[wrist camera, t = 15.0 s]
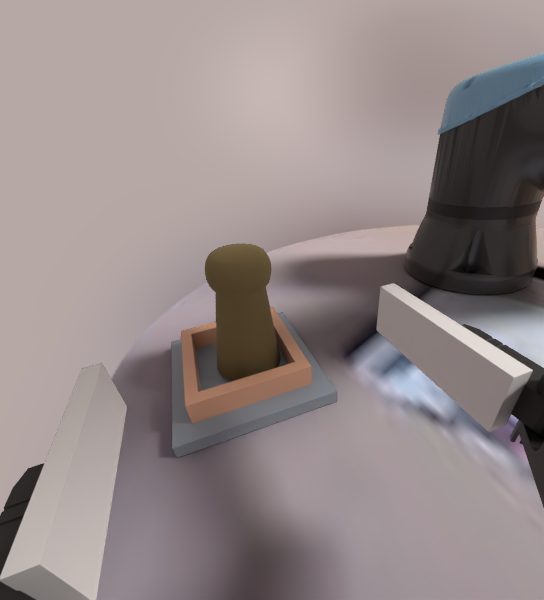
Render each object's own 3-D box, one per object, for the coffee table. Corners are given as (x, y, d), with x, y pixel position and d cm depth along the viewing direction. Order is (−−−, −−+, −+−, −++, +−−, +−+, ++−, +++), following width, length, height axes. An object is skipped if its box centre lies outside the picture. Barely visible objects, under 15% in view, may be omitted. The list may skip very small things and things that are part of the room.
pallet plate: (283, 320, 34) (281, 297, 33) (336, 401, 23) (337, 373, 22) (174, 350, 32) (165, 327, 30) (177, 457, 21) (163, 430, 19)
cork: (202, 367, 26) (178, 254, 21) (242, 333, 31) (230, 233, 25) (256, 392, 23) (243, 269, 18) (291, 351, 28) (290, 241, 22)
